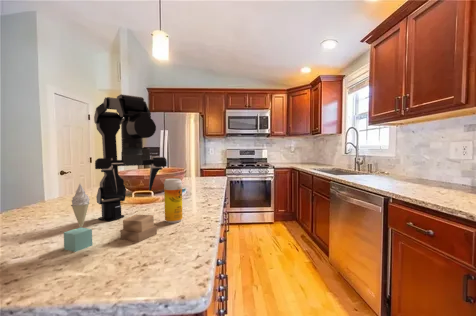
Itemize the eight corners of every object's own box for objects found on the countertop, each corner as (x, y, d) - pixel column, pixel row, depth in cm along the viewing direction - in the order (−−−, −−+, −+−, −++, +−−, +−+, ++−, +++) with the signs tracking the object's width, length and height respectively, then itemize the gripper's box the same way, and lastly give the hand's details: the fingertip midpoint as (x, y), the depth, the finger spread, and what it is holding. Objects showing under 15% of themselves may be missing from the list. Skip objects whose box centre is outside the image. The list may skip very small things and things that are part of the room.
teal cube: (64, 249, 62) (63, 232, 62) (81, 243, 66) (80, 227, 66) (75, 252, 60) (74, 234, 60) (92, 245, 64) (91, 229, 64)
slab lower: (120, 240, 69) (120, 230, 69) (139, 232, 75) (139, 223, 75) (138, 244, 66) (138, 233, 66) (156, 235, 72) (156, 225, 72)
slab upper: (123, 230, 68) (122, 220, 68) (136, 223, 74) (135, 214, 74) (141, 231, 67) (141, 221, 67) (153, 225, 73) (153, 215, 73)
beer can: (177, 224, 82) (177, 180, 81) (161, 223, 83) (160, 180, 82) (185, 218, 88) (184, 178, 87) (170, 218, 89) (169, 178, 88)
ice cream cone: (94, 227, 79) (92, 182, 79) (79, 232, 75) (77, 184, 74) (82, 225, 81) (81, 181, 80) (68, 230, 76) (66, 183, 76)
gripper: (91, 137, 59) (93, 200, 60) (169, 138, 67) (170, 193, 67) (96, 139, 69) (98, 192, 70) (163, 139, 77) (164, 187, 77)
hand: (133, 191), depth 71 cm, fingers open, 9 cm apart
